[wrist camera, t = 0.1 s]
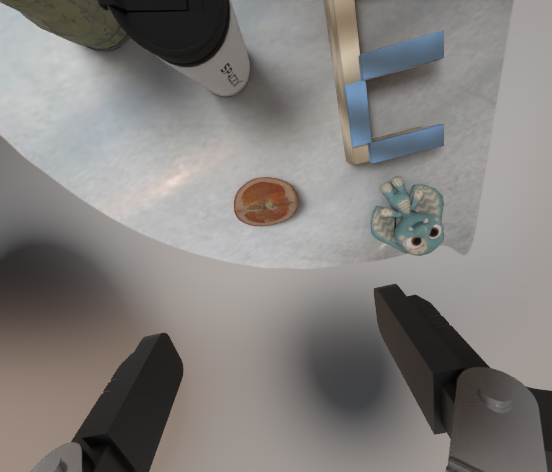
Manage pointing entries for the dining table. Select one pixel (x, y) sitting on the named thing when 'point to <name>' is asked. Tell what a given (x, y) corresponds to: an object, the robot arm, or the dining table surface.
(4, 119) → the dining table surface
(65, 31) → the thermos
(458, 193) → the dining table surface
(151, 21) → the travel mug
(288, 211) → the fruit slice
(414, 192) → the stuffed animal
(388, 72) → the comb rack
